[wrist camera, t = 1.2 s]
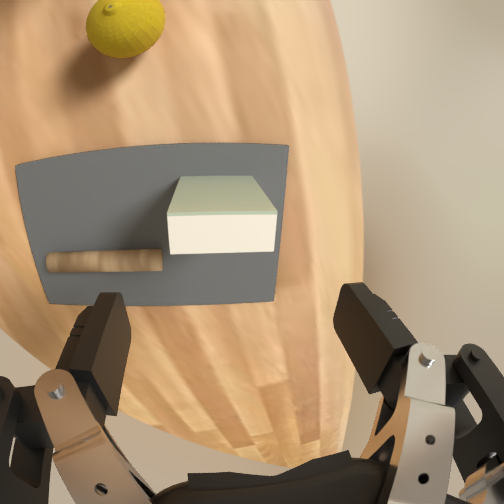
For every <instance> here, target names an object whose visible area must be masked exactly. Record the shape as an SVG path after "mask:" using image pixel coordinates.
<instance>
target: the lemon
mask: <svg viewBox="0 0 504 504" xmlns="http://www.w3.org/2000/svg"><path fill="white" fill-rule="evenodd" d="M164 24H165V12H164V9H163V7H162V5H161V3H160V1H159V0H98V1H97V2H96V3H95V5H94V6H93V7H92V9H91V11H90V12H89V15H88V17H87V21H86V32H87V36H88V39H89V40H90V42H91V43H92V45H93V46H94V48H96V49H97V50H98V51H99V52H101V53H102V54H104V55H107V56H110V57H113V58H127V57H133V56H136V55H139V54H141V53H143V52H144V51H146V50H148V49H149V48H150V47H151V46H153V45H154V44H155V43H156V41H157V40H158V39H159V37H160V36H161V34H162V31H163V29H164Z"/></svg>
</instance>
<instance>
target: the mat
mask: <svg viewBox="0 0 504 504" xmlns="http://www.w3.org/2000/svg"><path fill="white" fill-rule="evenodd" d="M288 152H289V146H288V145H278V144H258V143H178V144H158V145H144V146H132V147H121V148H112V149H103V150H95V151H88V152H81V153H74V154H68V155H62V156H56V157H51V158H46V159H41V160H36V161H31V162H27V163H22V164H18V165H16V166H15V169H16V177H17V184H18V191H19V197H20V202H21V208H22V213H23V218H24V222H25V227H26V231H27V235H28V239H29V243H30V246H31V250H32V254H33V257H34V260H35V264H36V267H37V270H38V273H39V276H40V279H41V282H42V285H43V288H44V291H45V293H46V296H47V299H48V301H49V304H66V305H94V304H95V302H96V299H97V297H98V295H99V293H101V292H120V293H121V294H122V296H123V300H124V304H125V306H173V305H210V304H234V303H253V302H270V301H274V295H275V286H276V277H277V268H278V259H279V249H280V240H281V230H282V220H283V209H284V198H285V187H286V176H287V164H288ZM181 176H253V178H254V179H255V180H256V182H257V183H258V185H259V186H260V187H261V189H262V190H263V191H264V193H265V194H266V196H267V197H268V198H269V200H270V201H271V203H272V204H273V205H274V207H275V208H276V210H277V223H276V234H275V244H274V251H273V252H238V253H202V254H170V246H169V234H168V221H167V211H168V209H169V206H170V203H171V200H172V198H173V195H174V192H175V190H176V187H177V184H178V182H179V179H180V177H181ZM132 249H162V251H163V270H162V271H135V272H49V271H48V270H47V267H46V257H47V255H48V253H50V252H72V251H102V250H132Z"/></svg>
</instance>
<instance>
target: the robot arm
mask: <svg viewBox="0 0 504 504" xmlns="http://www.w3.org/2000/svg"><path fill="white" fill-rule="evenodd" d="M333 323H334V329H335V331H336V333H337V335H338V337H339V339H340V340H341V342H342V344H343V346H344V348H345V350H346V351H347V353H348V355H349V357H350V359H351V361H352V363H353V364H354V366H355V368H356V370H357V372H358V374H359V376H360V378H361V380H362V382H363V383H364V385H365V387H366V389H367V391H368V393H369V394H372V393H376V392H379V391H381V392H382V394H383V396H382V397H381V399H380V402H379V406H378V410H377V414H376V418H375V421H374V425H373V428H372V432H371V435H370V439H369V441H368V443H367V445H366V447H365V449H364V450H363V452H362V454H361V456H360V458H351V455H350V453H349V451H348V450H347V451H343V452H340V453H336V454H333V455H329V456H325V457H321V458H317V459H312V460H310V461H308V462H306V463H304V464H302V465H300V466H298V467H295V468H293V469H291V470H289V471H286V472H284V473H282V474H279V475H276V476H261V475H250V474H242V473H234V472H219V473H188V481H186V482H182V483H179V484H176V485H173V486H170V487H168V488H166V489H164V490H163V491H161V492H159V493H157V494H156V493H155V492H154V491H153V490H152V488H151V487H150V486H149V485H148V484H147V483H146V482H145V480H144V479H143V478H142V477H141V476H140V474H139V473H138V472H137V471H136V470H135V468H134V467H133V466H132V465H131V463H130V462H129V461H128V459H127V458H126V456H125V455H124V453H123V452H122V451H121V449H120V448H119V446H118V445H117V443H116V442H115V440H114V439H113V437H112V436H111V434H110V433H109V431H108V430H107V428H106V426H105V425H104V424H105V418H106V415H111V416H117V411H118V405H119V399H120V393H121V387H122V382H123V377H124V372H125V367H126V362H127V357H128V352H129V348H130V343H131V327H130V323H129V319H128V316H127V312H126V308H125V304H124V300H123V296H122V294H121V293H120V292H101V293H99V295H98V297H97V299H96V302H95V304H94V306H87V307H86V308H85V309H84V310H83V311H82V312H81V313H80V314H79V315H78V317H77V319H76V322H75V324H74V328H72V330H71V333H70V337H68V339H67V342H66V344H65V347H64V349H63V351H62V354H61V356H60V359H59V361H58V364H57V366H56V369H54V370H50V371H47V372H46V373H44V374H43V375H42V376H41V377H40V378H39V379H38V380H37V382H36V384H35V385H33V386H26V387H18V388H15V387H14V386H13V384H12V383H11V382H10V380H9V379H8V378H6V377H2V376H0V504H48V497H49V482H50V470H51V462H52V457H53V461H54V463H55V466H56V468H57V470H58V472H59V474H60V476H61V478H62V480H63V482H64V484H65V485H66V487H67V489H68V491H69V492H70V495H71V496H72V498H73V500H74V501H75V503H76V504H504V377H503V375H502V374H501V372H500V371H499V370H498V368H497V367H496V366H495V364H494V363H493V362H492V360H491V359H490V358H489V356H488V355H487V354H486V352H485V351H484V350H483V349H482V348H480V347H479V346H477V345H474V344H465V345H463V346H462V348H461V349H460V351H459V353H458V354H457V355H443V354H442V353H441V351H440V350H439V349H437V348H436V347H435V346H433V345H431V344H428V343H418V342H417V341H416V339H415V338H414V337H413V335H412V334H411V333H410V331H409V330H408V329H407V328H406V326H405V325H404V324H403V323H402V321H401V320H400V319H398V316H397V315H396V314H395V313H394V312H392V309H391V308H390V306H389V305H388V304H387V303H386V302H385V301H384V300H383V299H381V298H380V297H378V296H377V295H375V294H372V292H371V291H370V290H369V289H368V287H367V286H366V285H365V284H364V283H362V282H359V283H347V284H343V286H342V287H341V290H340V294H339V298H338V302H337V306H336V309H335V313H334V318H333ZM469 391H470V392H471V394H472V395H473V397H474V398H475V400H476V402H477V403H478V405H479V407H480V408H481V410H482V420H481V422H480V423H479V424H478V425H477V424H476V422H475V420H474V418H473V417H472V415H471V413H470V412H469V410H468V408H467V406H466V405H465V403H464V401H463V399H464V397H465V396H466V395H467V394H468V393H469ZM13 437H15V438H16V439H15V444H14V449H13V454H12V460H11V466H10V467H9V456H10V451H11V446H12V441H13ZM53 448H55V451H56V452H55V453H53ZM452 456H453V458H454V460H455V462H456V464H457V467H458V469H459V471H460V473H461V476H462V478H463V480H464V483H465V487H464V488H463V489H461V491H460V492H459V498H460V499H459V498H456V497H453V496H451V495H448V494H447V489H448V484H449V478H450V471H451V464H452Z"/></svg>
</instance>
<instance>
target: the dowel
mask: <svg viewBox="0 0 504 504" xmlns="http://www.w3.org/2000/svg"><path fill="white" fill-rule="evenodd" d="M46 267H47V270H48V271H49V272H135V271H162V270H163V251H162V249H132V250H102V251H72V252H50V253H48V255H47V257H46Z"/></svg>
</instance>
